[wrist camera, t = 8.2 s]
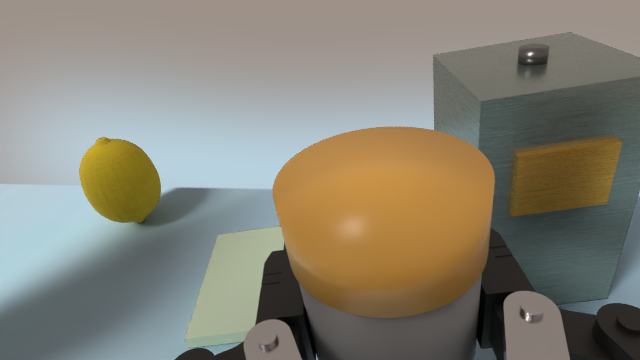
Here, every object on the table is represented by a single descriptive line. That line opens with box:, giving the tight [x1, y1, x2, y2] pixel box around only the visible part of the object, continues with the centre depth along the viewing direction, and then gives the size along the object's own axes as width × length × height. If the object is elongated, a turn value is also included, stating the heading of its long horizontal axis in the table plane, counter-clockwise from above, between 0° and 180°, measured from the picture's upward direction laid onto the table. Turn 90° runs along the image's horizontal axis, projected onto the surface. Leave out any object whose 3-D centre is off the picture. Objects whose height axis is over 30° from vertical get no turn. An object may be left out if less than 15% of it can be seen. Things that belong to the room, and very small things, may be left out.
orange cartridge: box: [273, 127, 495, 360], centre depth 12 cm, size 5×5×11 cm
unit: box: [433, 32, 640, 304], centre depth 21 cm, size 7×8×13 cm
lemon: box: [79, 137, 161, 223], centre depth 32 cm, size 6×6×8 cm
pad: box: [184, 226, 284, 348], centre depth 26 cm, size 9×9×1 cm
